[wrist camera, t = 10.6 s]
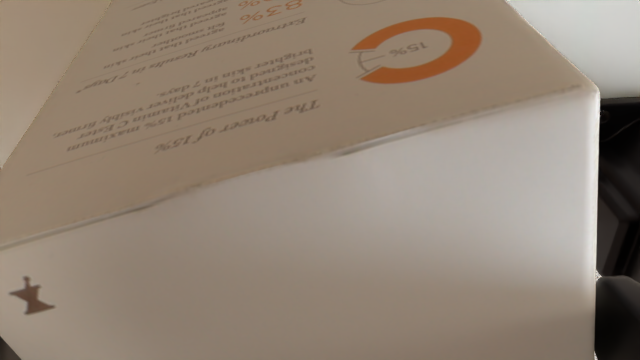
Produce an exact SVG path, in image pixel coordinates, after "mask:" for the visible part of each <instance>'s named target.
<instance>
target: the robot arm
mask: <svg viewBox="0 0 640 360" xmlns="http://www.w3.org/2000/svg"><path fill="white" fill-rule="evenodd" d="M600 111H604V112H603V114H602V115H601V116H600V118H599V155H598V197H597V245H596V269H597V271H598V272H599V274H600V275H601V276H602V277H601V278H600V279H598V280H597V282H596V297H595V341H594V351H595V354H596V356H597V359H598V360H640V97H634V98H616V99H600ZM0 360H21V358H20V357H19V356H18V355H17V354H16V353H15V352H14V351H13V350H12V348H11V347H10V346H9V345H8V344H7V343H6V342H5V341H4V340H3V339H2V337H1V336H0Z"/></svg>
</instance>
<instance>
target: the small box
mask: <svg viewBox="0 0 640 360" xmlns="http://www.w3.org/2000/svg"><path fill="white" fill-rule="evenodd" d="M599 118H600V91H599V89H598V87H597V86H596V85H595V84H594V83H593V82H592V81H591V80H590V79H589V78H588V77H587V76H585V75H584V74H583V73H582V72H581V71H580V70H579V69H578V68H577V67H575V66H574V65H573V64H572V63H571V62H570V61H569V60H568V59H567V58H565V57H564V56H563V55H562V54H561V53H560V52H559V51H558V50H557V49H556V48H555V47H553V46H552V45H551V44H550V43H549V42H548V41H547V40H546V38H545V37H544V36H543V35H542V34H540V33H539V32H538V31H537V30H536V29H535V28H534V27H533V26H532V25H531V24H530V23H528V22H527V21H526V20H525V19H524V18H523V17H522V16H521V15H520V14H519V13H518V12H517V11H516V10H515V9H514V8H513V7H512V6H511V5H510V4H509V3H508V2H507V1H506V0H112V2H111V3H110V5H109V7H108V8H107V10H106V11H105V13H104V14H103V16H102V18H101V19H100V21H99V22H98V24H97V25H96V27H95V28H94V30H93V31H92V33H91V34H90V36H89V37H88V39H87V40H86V42H85V43H84V45H83V46H82V48H81V49H80V51H79V52H78V54H77V55H76V57H75V58H74V60H73V61H72V62H71V64H70V65H69V67H68V68H67V70H66V72H65V73H64V75H63V76H62V78H61V79H60V81H59V82H58V84H57V85H56V87H55V88H54V90H53V91H52V93H51V94H50V96H49V97H48V99H47V100H46V102H45V103H44V105H43V107H42V108H41V110H40V111H39V113H38V114H37V116H36V117H35V119H34V120H33V122H32V123H31V125H30V126H29V128H28V129H27V131H26V132H25V134H24V135H23V137H22V138H21V140H20V141H19V143H18V144H17V146H16V147H15V149H14V150H13V152H12V153H11V155H10V156H9V158H8V159H7V161H6V162H5V164H4V166H3V167H2V169H1V170H0V336H1V337H2V339H3V340H4V341H5V342H6V343H7V344H8V345H9V346H10V347H11V348H12V350H13V351H14V352H15V353H16V354H17V355H18V356H19V357H20V358H21V360H594V341H595V297H596V245H597V197H598V155H599Z"/></svg>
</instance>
